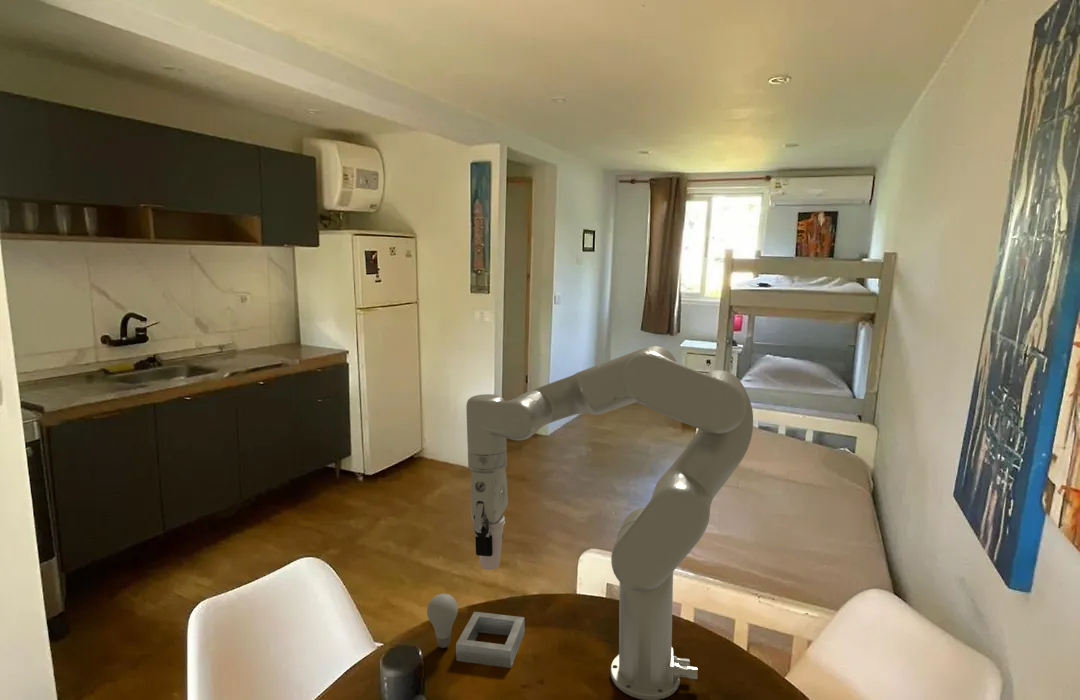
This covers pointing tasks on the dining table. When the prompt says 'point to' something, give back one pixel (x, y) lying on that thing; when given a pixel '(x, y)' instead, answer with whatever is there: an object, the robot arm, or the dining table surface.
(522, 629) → the socket block
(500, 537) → the smoothie
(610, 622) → the dining table surface
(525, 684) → the dining table surface
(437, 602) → the lightbulb
